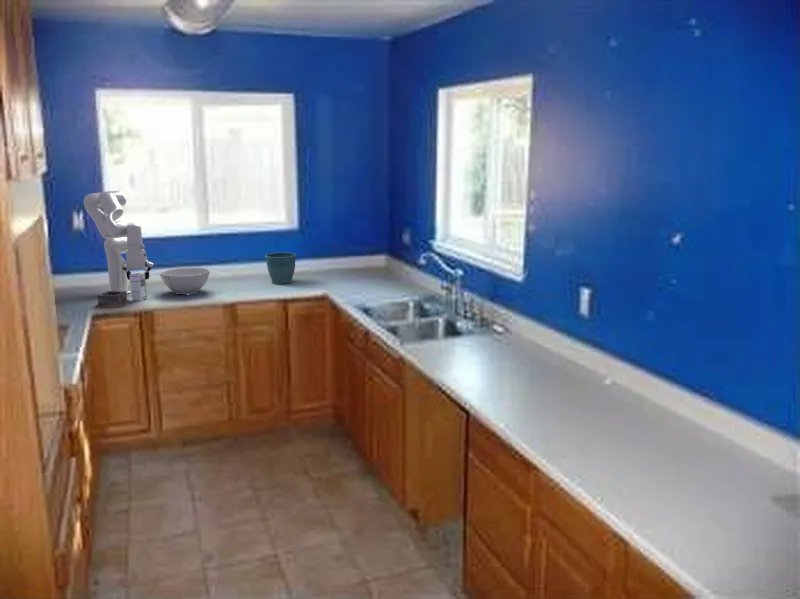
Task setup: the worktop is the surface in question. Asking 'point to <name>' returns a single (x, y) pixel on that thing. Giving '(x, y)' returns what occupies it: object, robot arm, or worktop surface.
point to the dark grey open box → (112, 299)
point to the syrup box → (138, 286)
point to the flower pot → (281, 266)
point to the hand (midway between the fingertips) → (138, 279)
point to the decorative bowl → (185, 279)
